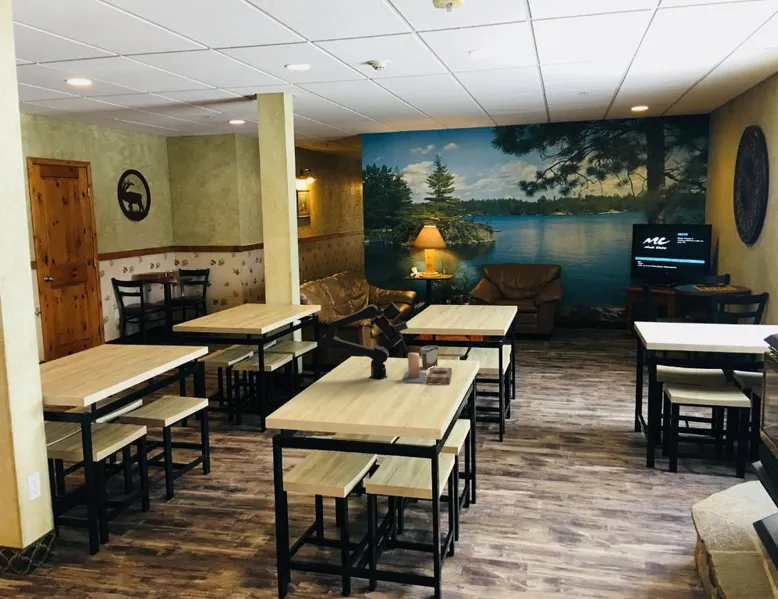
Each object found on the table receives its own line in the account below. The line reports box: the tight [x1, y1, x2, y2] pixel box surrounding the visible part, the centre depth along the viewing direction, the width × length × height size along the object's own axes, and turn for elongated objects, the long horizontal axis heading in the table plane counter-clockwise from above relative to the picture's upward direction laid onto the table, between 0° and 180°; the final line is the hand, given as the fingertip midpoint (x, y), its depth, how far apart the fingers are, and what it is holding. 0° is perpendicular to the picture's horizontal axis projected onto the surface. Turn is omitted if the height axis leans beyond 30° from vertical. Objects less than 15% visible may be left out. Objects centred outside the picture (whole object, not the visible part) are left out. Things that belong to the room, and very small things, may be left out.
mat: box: [401, 371, 427, 384], centre depth 308 cm, size 10×18×1 cm, turn 172°
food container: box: [419, 345, 440, 370], centre depth 329 cm, size 12×6×10 cm, turn 144°
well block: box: [427, 367, 453, 385], centre depth 306 cm, size 10×18×3 cm, turn 172°
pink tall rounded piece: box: [407, 352, 420, 378], centre depth 307 cm, size 5×5×11 cm
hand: (407, 351), depth 307 cm, fingers open, 9 cm apart
